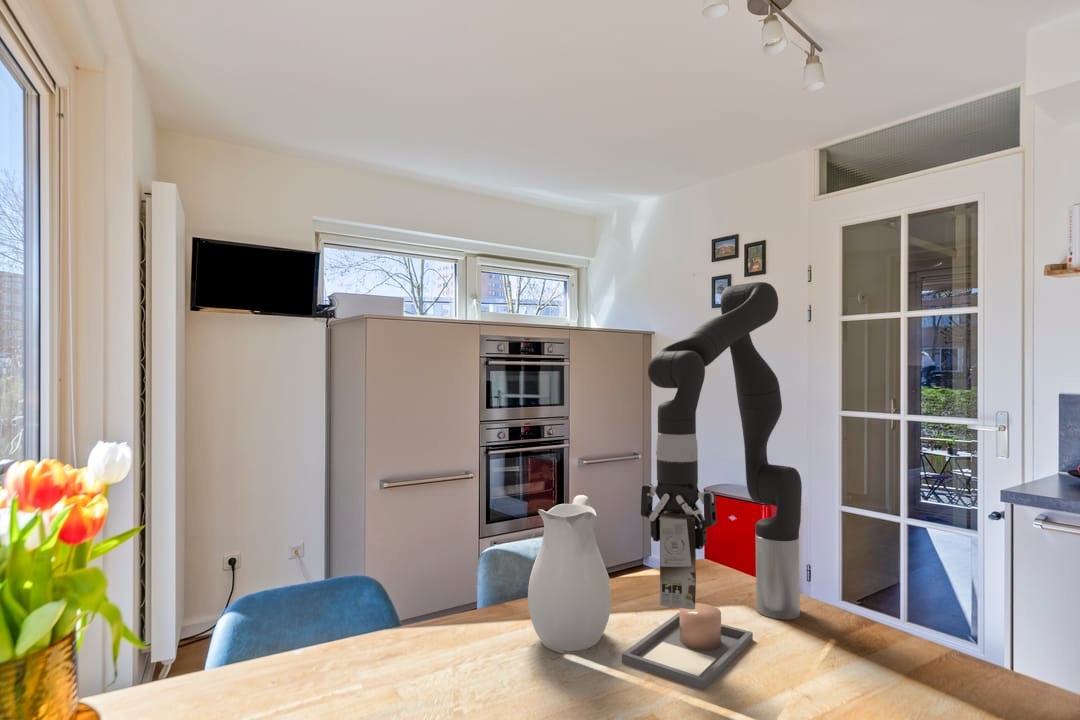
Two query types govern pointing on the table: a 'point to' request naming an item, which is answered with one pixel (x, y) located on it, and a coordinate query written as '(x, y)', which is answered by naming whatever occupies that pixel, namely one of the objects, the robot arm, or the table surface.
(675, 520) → the coffee box
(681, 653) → the serving tray
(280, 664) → the table surface
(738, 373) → the robot arm
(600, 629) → the pitcher
